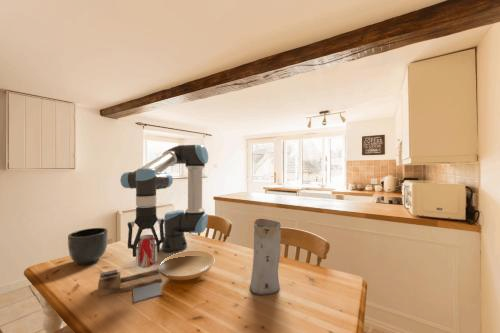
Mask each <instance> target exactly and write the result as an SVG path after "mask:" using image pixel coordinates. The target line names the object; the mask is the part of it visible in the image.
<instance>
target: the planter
mask: <svg viewBox="0 0 500 333" xmlns="http://www.w3.org/2000/svg"><path fill="white" fill-rule="evenodd" d="M107 247H108V229H107V228H105V227H93V228H84V229H80V230H76V231H74V232H71V233H69V234H68V236H67V248H68V253H69V256H70V259H71V260H72V261H73V262H75V263H77V264H78V265H80V266H88V265H92V264H95V263H97V262H98V261H99V260H100V258H102V256H103V255H104V254H105V252H106V249H107Z"/></svg>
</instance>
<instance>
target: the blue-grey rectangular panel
mask: <svg viewBox="0 0 500 333" xmlns="http://www.w3.org/2000/svg"><path fill="white" fill-rule="evenodd" d="M119 272H120V271H118V269H113V270H109V271H104V272H100V273H99V278H105V277H110V276H114V275H118V274H119Z"/></svg>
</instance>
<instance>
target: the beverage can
mask: <svg viewBox="0 0 500 333" xmlns="http://www.w3.org/2000/svg"><path fill="white" fill-rule="evenodd" d="M155 244H156V241H155V238H154V236H153V234H143V235H140V238H139V241H138V244H137V247H138V265H137V266H138V267H139V268H141V269H146V268H147V269H148V268H150V267H152V266H154V265H155V264H156V263H155Z"/></svg>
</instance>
